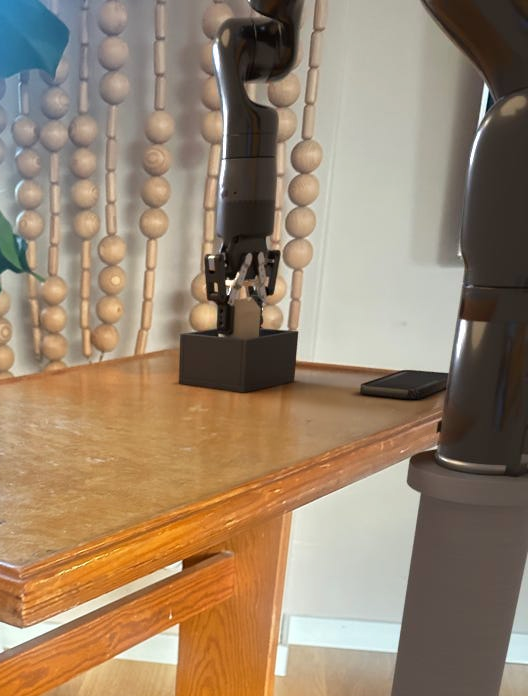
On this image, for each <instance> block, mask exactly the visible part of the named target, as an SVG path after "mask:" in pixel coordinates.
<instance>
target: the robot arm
mask: <svg viewBox="0 0 528 696" xmlns="http://www.w3.org/2000/svg"><path fill="white" fill-rule="evenodd" d="M246 1H247V3H248V6H250V8H251V9H252V10H253V11H254V12H256V13H258V14H259V15H261V16H233V17H232V16H231V17H228V18H226V19H224V21H222V23H220V25H219V26H218V28H217V30H216V31H215V34H214V36H213V40H212V45H211V62H212V69H213V74H214V78H215V79H214V80H215V83H216V88H217V93H218V100H219V104H220V105H219V106H220V111H221V112H220V113H221V120H222V140H221V141H222V143H221V161H220V169H219V175H218V185H217V187H218V188H217V206H216V207H217V208H216V230H215V233H216V236H217V238H221V245H220V248H219V251H218V252H216V253H205V254H204V257H203V263H204V264H203V265H204V277H205V292H206V293H205V294H206V299H207V301H209V302H213V303H215V305H216V307H217V309H216V310H217V313H216V328H217V331H218V333H219V334H224V335H229V334H232V333H233V327H234V308H235V306H232V305H233V304H234V302H235V299H237V296H238V291H239V290H241V289H242V287H244V288H245V294H246V298H247V297H252V298H253V299H254V301H255V302H256V303H257V305H258V306H259V307H260V308H261V309H260V326H259V329H260V327H262V325H261V322H262V316H263V312H262V311H263V310H262V309H264V307H263V306H264V302H266V301H267V299H266V297H267V298H268V297H271V296H273V295H274V294H275V290H276V284H277V279H278V272H279V267H280V260H281V256H282V255H281V254H282V253H281V250H280V249H272V248H271V249H269V248H268V245H267V237H271V236H272V235H273V234H274V230H275V217H276V201H277V186H278V165H277V163H278V161H277V160H278V159H277V156H278V143H279V131H280V130H279V129H280V128H279V127H280V115H279V111H278V110H277V109H276V108H275V107H273V106H271V105H267V104H263V103H259V102H256V101H254V100H252V99H251V98H250V96H249V94H248V92H247V89H246V87H245V85H254V84H255V85H257V84H260V85H262V84H263V85H265V84H266V85H267V84H277V83H281V82H282V81H284V80H285V79H287V77H288V76H290V74H291V73H292V72H293V70H294V69H295V67H296V64H297V63H298V62H297V61H298V58H299V52H300V38H301V25H302V17H303V12H304V6H305V1H306V0H246ZM419 2H420V4H421V6H422V7H423V9H424V10H425V12H426V13H427V15H428V16H429V17H430V19H431V20H432V22H434V24H435V26H437V27H438V29H439V31H441V32H442V34H444V36H445V37H446V38H447V39H448V40H449V41H450V42H451V44H452V45H453V46H454V47H455V48H456V49H457V50H458V51H459V52H460V53H461V55H462V56H464V57H465V59H466V60H467V61H468V62H469V63H470V64H471V65H472V67H473V68H474V69H475V70H476V72H477V73H478V74H479V76H480V77H481V79H482V80H483V82H484V84H485V86H486V87H487V89H488V92H489V93H490V96H491V98H492V101H493V104H492V105H491V106H490V108H489V109H488V110H487V111H486V113H485V114H484V116H483V117H482V119H481V121H480V122H479V125H478V127H477V129H476V132H475V134H474V137H473V140H472V143H471V145H470V146H471V147H470V151H469V156H468V161H467V167H466V174H465V182H464V192H463V203H462V212H461V221H460V230H459V231H460V232H459V250H460V255H461V259H462V262H463V275H462V282H461V283H462V285H461V288H460V289H461V290H460V297H459V302H458V310H457V317H456V323H455V328H454V330H455V331H454V336H453V341H452V348H451V354H450V355H451V356H450V360H449V361H450V362H449V368H448V373H449V374H448V380H447V387H446V388H445V393H444V394H445V395H444V401H443V408H442V413H441V420H439V421H437V425H436V426H437V427H436V434H438V439H437V443H436V444H437V446H436V448H435V449H436V453H435V460H434V461H435V463H436V464H438V465H439V466H441V467H443V468H446V469H449V470H453V471H457V472H463V473H469V474H477V475H494V476H509V477H519V476H521V475H524V474H526V473H528V0H419ZM267 278H268V279H267ZM266 283H267V285H265V284H266ZM215 284H216V286H217V291H216V289H215V287H216V286H215ZM228 289H230V290H229V293H227V291H228Z"/></svg>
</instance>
